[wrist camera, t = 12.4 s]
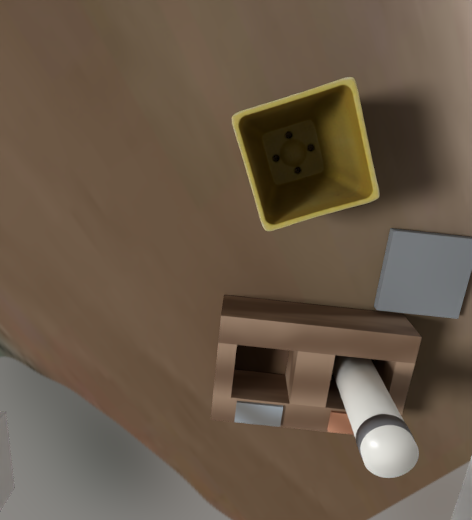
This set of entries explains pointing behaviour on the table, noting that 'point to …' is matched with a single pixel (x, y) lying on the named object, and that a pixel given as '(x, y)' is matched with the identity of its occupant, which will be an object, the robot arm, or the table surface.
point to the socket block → (306, 361)
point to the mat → (424, 273)
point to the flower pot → (307, 154)
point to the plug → (374, 418)
